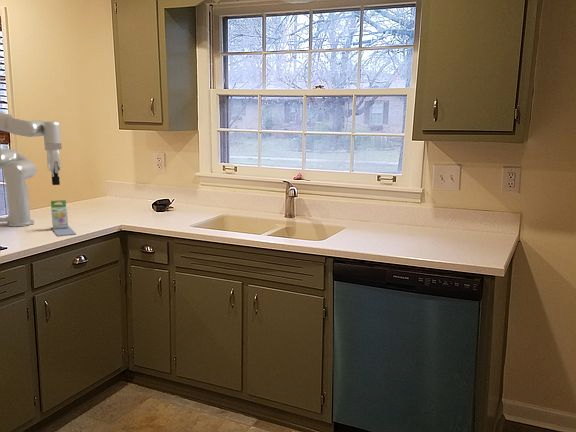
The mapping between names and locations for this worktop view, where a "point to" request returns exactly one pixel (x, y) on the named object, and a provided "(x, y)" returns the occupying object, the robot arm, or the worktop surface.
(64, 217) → the ink box
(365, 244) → the worktop surface
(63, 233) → the rubber mat
